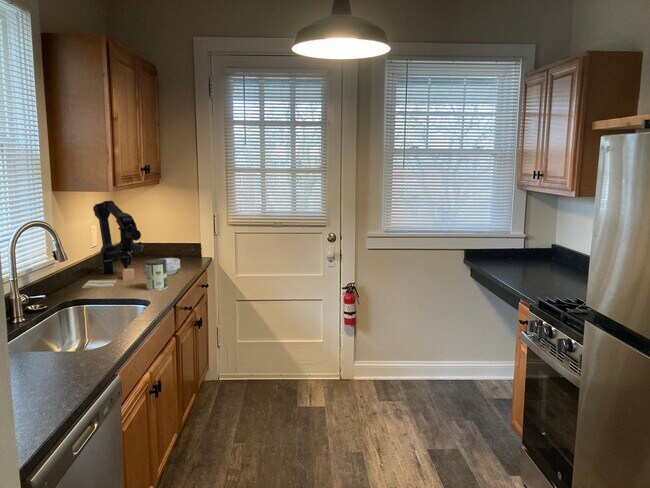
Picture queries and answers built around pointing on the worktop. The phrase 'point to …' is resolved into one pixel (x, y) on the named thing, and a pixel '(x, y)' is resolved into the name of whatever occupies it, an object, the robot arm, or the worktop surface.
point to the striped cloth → (99, 283)
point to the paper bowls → (172, 265)
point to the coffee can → (156, 274)
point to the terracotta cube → (128, 274)
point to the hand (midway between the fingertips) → (127, 266)
